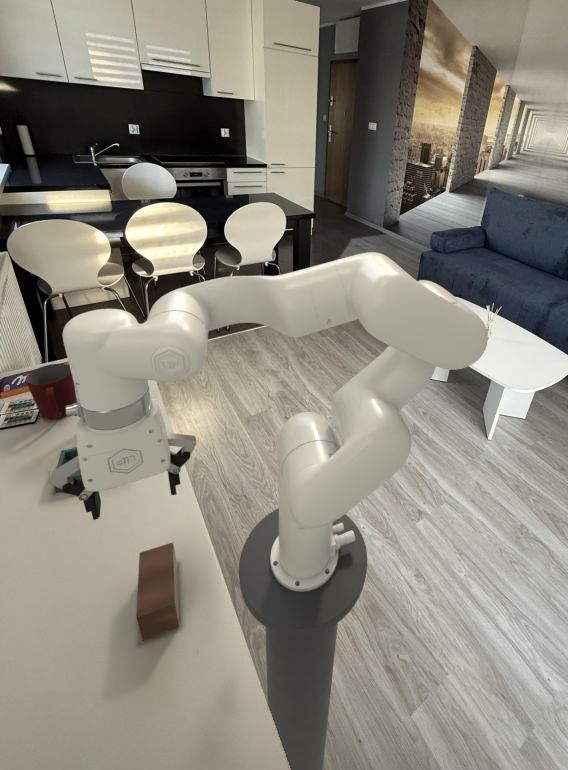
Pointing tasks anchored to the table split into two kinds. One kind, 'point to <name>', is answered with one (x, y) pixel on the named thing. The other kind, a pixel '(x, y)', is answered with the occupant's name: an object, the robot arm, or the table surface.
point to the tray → (64, 458)
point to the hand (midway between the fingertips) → (136, 499)
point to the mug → (52, 389)
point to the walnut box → (157, 591)
